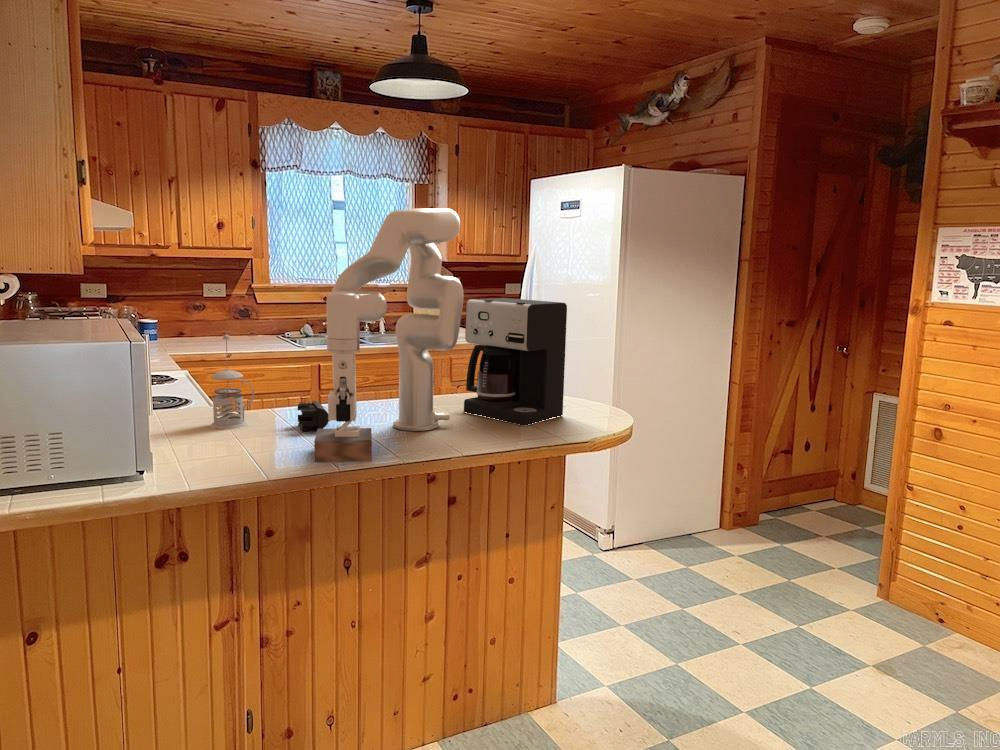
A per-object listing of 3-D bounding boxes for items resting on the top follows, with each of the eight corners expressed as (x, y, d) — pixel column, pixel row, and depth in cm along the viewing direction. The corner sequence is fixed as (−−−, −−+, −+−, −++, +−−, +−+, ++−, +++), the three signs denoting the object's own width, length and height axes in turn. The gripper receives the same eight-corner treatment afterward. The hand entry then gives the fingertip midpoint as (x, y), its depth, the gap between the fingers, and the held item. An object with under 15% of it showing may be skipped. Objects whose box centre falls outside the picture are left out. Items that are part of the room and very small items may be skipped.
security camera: (330, 430, 182) (330, 390, 181) (360, 430, 183) (360, 390, 181) (328, 437, 176) (327, 395, 174) (358, 437, 177) (358, 395, 175)
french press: (208, 422, 209) (205, 333, 205) (252, 419, 213) (250, 332, 209) (211, 430, 200) (207, 337, 196) (256, 427, 205) (254, 336, 201)
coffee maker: (452, 411, 232) (454, 297, 226) (493, 402, 247) (496, 296, 241) (523, 426, 214) (527, 303, 208) (563, 416, 229) (568, 301, 223)
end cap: (329, 431, 203) (329, 407, 201) (302, 433, 200) (302, 408, 199) (323, 423, 212) (323, 400, 211) (297, 425, 209) (297, 401, 208)
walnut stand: (371, 447, 187) (371, 427, 186) (371, 460, 175) (371, 439, 175) (317, 448, 185) (317, 428, 184) (314, 462, 173) (314, 440, 172)
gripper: (359, 350, 168) (359, 424, 171) (359, 340, 185) (360, 409, 188) (325, 350, 167) (325, 425, 170) (328, 340, 184) (329, 409, 186)
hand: (343, 416), depth 179 cm, fingers open, 9 cm apart
